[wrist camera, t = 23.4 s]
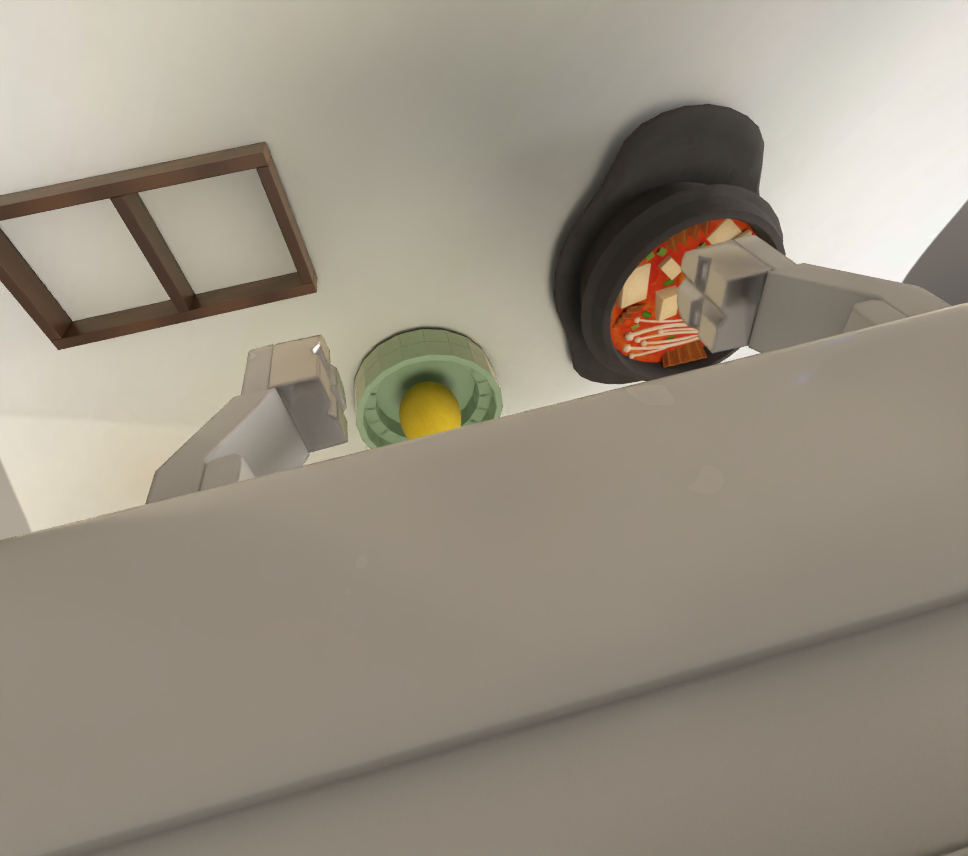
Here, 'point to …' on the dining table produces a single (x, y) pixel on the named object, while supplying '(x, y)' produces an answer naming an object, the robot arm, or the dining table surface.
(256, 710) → the robot arm
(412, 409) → the lemon
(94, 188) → the lemon stand
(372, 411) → the bowl
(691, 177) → the casserole
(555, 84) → the dining table surface
